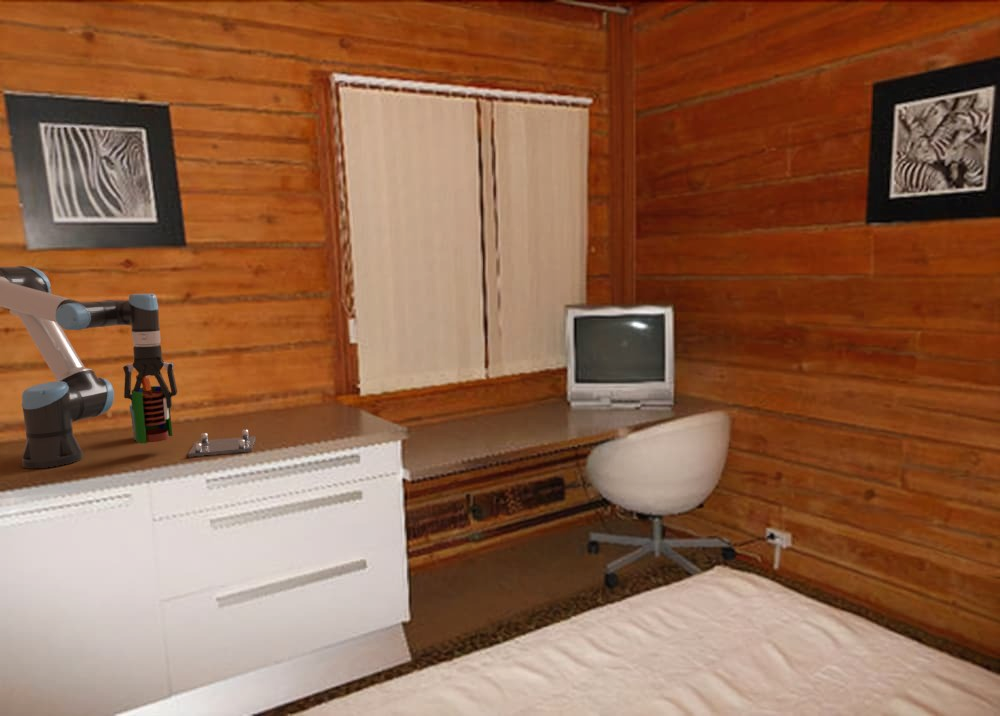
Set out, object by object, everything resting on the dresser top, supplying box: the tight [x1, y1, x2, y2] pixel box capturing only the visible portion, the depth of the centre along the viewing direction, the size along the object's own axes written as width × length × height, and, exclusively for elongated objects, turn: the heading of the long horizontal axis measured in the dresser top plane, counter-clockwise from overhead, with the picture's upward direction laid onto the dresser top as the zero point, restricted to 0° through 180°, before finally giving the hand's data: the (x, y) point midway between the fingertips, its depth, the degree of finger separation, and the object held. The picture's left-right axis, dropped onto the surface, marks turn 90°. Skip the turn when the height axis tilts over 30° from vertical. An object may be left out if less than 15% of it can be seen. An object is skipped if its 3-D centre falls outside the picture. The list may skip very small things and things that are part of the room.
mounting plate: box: [187, 429, 256, 458], centre depth 216 cm, size 18×16×4 cm
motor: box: [131, 375, 173, 444], centre depth 209 cm, size 10×9×20 cm
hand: (153, 419), depth 210 cm, fingers closed on motor, 7 cm apart
